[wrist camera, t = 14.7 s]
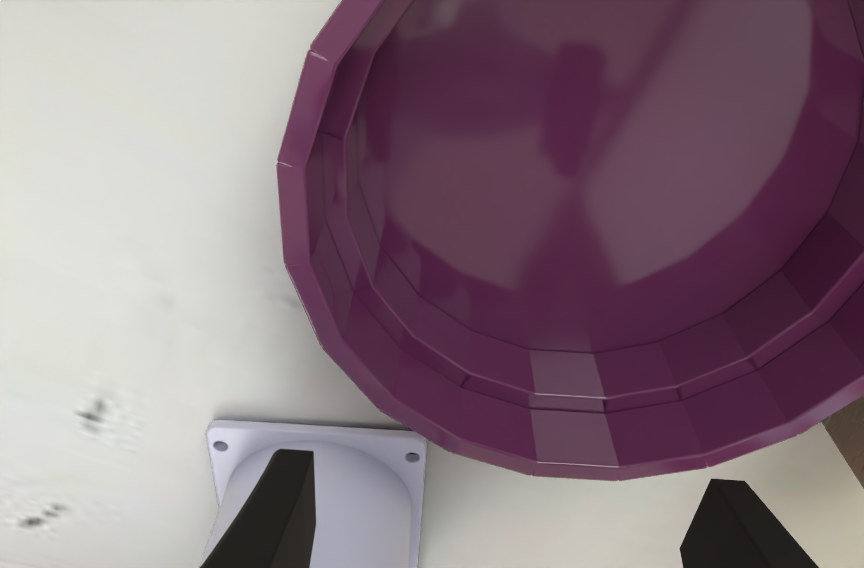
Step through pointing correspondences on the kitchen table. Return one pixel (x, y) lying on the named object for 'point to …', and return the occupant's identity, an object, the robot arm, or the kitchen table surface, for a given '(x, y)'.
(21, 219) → the kitchen table surface
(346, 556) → the robot arm
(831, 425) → the eraser
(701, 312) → the bowl
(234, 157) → the kitchen table surface
